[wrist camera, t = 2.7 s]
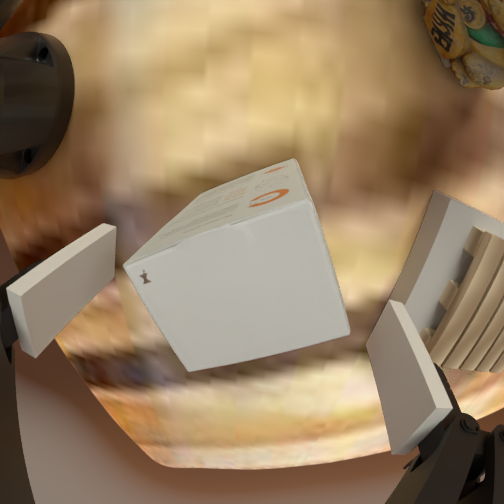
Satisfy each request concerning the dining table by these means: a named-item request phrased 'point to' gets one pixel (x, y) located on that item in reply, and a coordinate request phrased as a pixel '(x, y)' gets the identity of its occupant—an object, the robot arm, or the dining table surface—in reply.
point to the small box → (242, 273)
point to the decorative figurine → (469, 39)
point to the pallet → (473, 311)
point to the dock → (439, 257)
